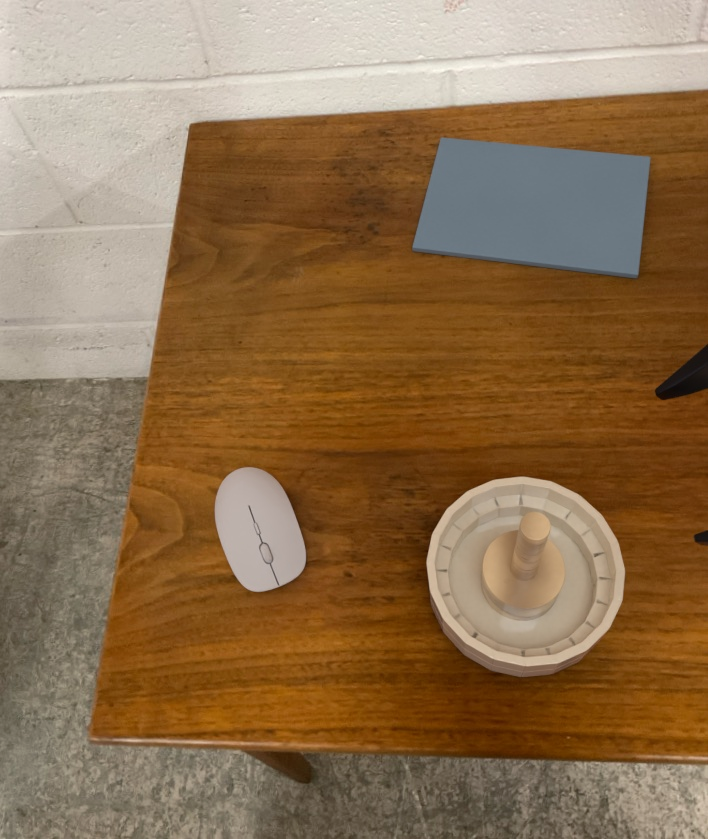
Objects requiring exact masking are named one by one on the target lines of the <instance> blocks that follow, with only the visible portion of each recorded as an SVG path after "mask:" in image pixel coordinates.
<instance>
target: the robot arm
mask: <svg viewBox="0 0 708 839" xmlns="http://www.w3.org/2000/svg"><path fill="white" fill-rule="evenodd" d="M704 390H708V343H707V344H705V345H704V347H702V348H701V349H700V350H699V351H697V353H695V354H694V355H693V356H692V357H690V358H689V359H688V360H687V361H686V362H685V363H684V364H682V365H681V366H680V367H679V368H678V369H677V370H675V371H674V372H673V373H672V374H670V376H668V377H667V378H666V379H665V380H664V381H662V383H661V384H659V385H658V386H657V387H656V388H655V389H654V394H655V396H656V397H657V398H658V399H659V400H661V401H667V400H672V399H676V398H681V397H685V396H690V395H693V394H696V393H699V392H702V391H704ZM693 540H694V543H696V544H698V545H700V546H705V547H708V529H707V530H704V531H701V532H697V533H695V534H694V535H693Z"/></svg>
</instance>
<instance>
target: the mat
mask: <svg viewBox="0 0 708 839" xmlns="http://www.w3.org/2000/svg"><path fill="white" fill-rule="evenodd" d="M651 159H652V158H651V156H647V155H634V154H624V153H613V152H604V151H592V150H583V149H571V148H562V147H561V148H559V147H550V146H539V145H528V144H516V143H508V142H507V143H506V142H496V141H495V142H494V141H486V140H485V141H484V140H473V139H464V138H463V139H462V138H451V137H442V136H441V137H440V139H439V143H438V147H437V151H436V155H435V158H434V162H433V165H432V170H431V174H430V177H429V182H428V185H427V189H426V193H425V197H424V200H423V203H422V204H423V205H422V207H421V208H422V209H421V212H420V216H419V220H418V224H417V227H416V231H415V234H414V238H413V243H412V247H411V249H412V250H411V251H412V252H416V253H423V254H433V255H440V256H441V255H442V256H448V257H456V258H465V259H471V260H472V259H473V260H481V261H490V262H496V263H497V262H498V263H505V264H515V265H523V266H531V267H538V268H547V269H553V270H564V271H570V272H571V271H572V272H578V273H587V274H596V275H603V276H604V275H605V276H612V277H620V278H628V279H638V277H639V273H640V264H641V254H642V244H643V235H644V227H645V226H644V224H645V216H646V207H647V206H646V205H647V196H648V186H649V176H650V168H651Z"/></svg>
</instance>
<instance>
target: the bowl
mask: <svg viewBox="0 0 708 839" xmlns="http://www.w3.org/2000/svg"><path fill="white" fill-rule="evenodd" d="M530 512H539V513H542V514H543V515H545V516H546V517H547V518H548V519H549V521H550V524H551V530H550V533H549V536H548V539H549V540H550V541H551V542H552V543H553V544H554V545H555V546H556V547H557V548H558V550H559V551H560V553H561V555H562V557H563V560H564V564H565V580H564V583H563V586H562V588H561V591H560V593H559V595H558V597H557V600H556V601H555V603H554V605H553V606H552V608H551V609H550V610H549V611H548V612H547V613H545V614H544V615H542V616H541V617H539V618H536V619H533V620H528V621H517V620H512V619H509V618H506V617H504V616H502V615H500V614H499V613H498V612H496V611H495V610H494V609H493V608H492V607H491V606H490V605H489V604H488V602H487V600H486V599H485V597H484V594H483V591H482V587H481V573H482V565H483V559H484V555H485V553H486V550H487V549H488V547H489V545H490V544H491V543H492V542H493V541H494V540H495V539H496V538H497V537H499V536H500V535H502V534H504V533H507V532H509V531H513V530H519V526H520V522H521V519H522V518H523V516H524V515H526V514H527V513H530ZM429 542H430V543H429V546H428V552H427V555H426V563H425V564H426V576H427V585H428V593H429V601H430V605H431V609H432V611H433V613H434V616H435V617H436V620H437V621H438V624H439V627H440V629H441V630H442V632H443V634H444V635H445V636H446V637H447V638H448V639H449V640H450V642H451V643H452V644H453V645H454V646H455V647H456V648H457V649H458V650H459V651H460V652H461V654H462V655H463V656H465V657H466V658H469V659H470V660H472V661H473V662H475V663H477V664H479V665H480V666H482V667H483V668H486V669H487V670H489V671H491V672H495V673H500V674H505V675H508V676H513V677H518V678H528V677H537V676H538V677H540V676H549V675H554V674H556V673H558V672H560V671H563V670H564V669H566V668H567V669H568V668H569V667H571V666H573V665H575V664H577V663H579V662H580V661H582V659H584V658H585V657H586V656H587V655H588V654H589V653H590V652H591V651H592V650H593V649H594V648H595V647H596V646H597V645H598V644H599V643H600V642H601V641H602V639H603V638H604V636H605V635H606V634H607V632H609V630H610V629H611V626H612V624H613V623H614V620H615V619H616V616H617V614H618V611H619V610H620V608H621V606H622V603H623V600H624V590H625V580H626V579H625V578H626V567H625V564H624V559H623V555H622V551H621V547H620V543H619V540H618V539H617V537H616V535H615V533H614V532H613V530H612V529H611V527H610V526H609V523H608V522H607V520H606V519H605V517H604V516H603V515H602V514H601V513H600V512H599V510H597V509H596V508H595V507H593V506H592V504H590V502H588V501H587V500H586V499H585V498H584V497H583V496H581V495H580V494H578V493H577V492H575V491H572V490H571V489H568V488H567V487H564V486H563V485H560V484H558V483H556V482H554V481H551V480H546V479H541V478H535V477H529V476H514V477H505V478H498V479H492V480H490V481H487V482H485V483H483V484H481V485H478V486H475V487H474V488H471V489H469V490H467V491H466V492H464V493H463V494H462V495H461V496H460V497H458V498H457V500H455V501H454V502H453V503H452V504H450V505H449V506H448V507H447V508H446V509H445V511H444V512H443V514H442V515H441V518H440V519H439V521H438V523H437V525H436V526H435V528H434V530H433V531H432V534H431V537H430V541H429Z"/></svg>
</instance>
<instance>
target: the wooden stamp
mask: <svg viewBox="0 0 708 839" xmlns="http://www.w3.org/2000/svg"><path fill="white" fill-rule="evenodd" d="M550 530H551V524H550V521H549V519H548V518H547V517H546V516H545V515H543V514H542V513H539V512H530V513H527V514H526V515H524V516H523V518H522V519H521V522H520V526H519V530H513V531H509V532H507V533H504V534H502V535H500V536H499V537H497V538H496V539H495V540H494V541H493V542H492V543H491V544H490V545H489V547H488V549H487V550H486V553H485V555H484V559H483V565H482V573H481V587H482V591H483V594H484V597H485V599H486V600H487V602H488V604H489V605H490V606H491V607H492V608H493V609H494V610H495V611H496V612H498V613H499V614H500V615H502V616H504V617H506V618H509V619H512V620H517V621H528V620H533V619H536V618H539V617H541V616H542V615H544V614H545V613H547V612H548V611H549V610H550V609H551V608H552V606H553V605H554V603H555V601H556V600H557V597H558V595H559V593H560V591H561V588H562V586H563V583H564V580H565V564H564V560H563V557H562V555H561V553H560V551H559V550H558V548H557V547H556V546H555V545H554V544H553V543H552V542H551V541H550V540H549V539H548V536H549V533H550Z"/></svg>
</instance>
